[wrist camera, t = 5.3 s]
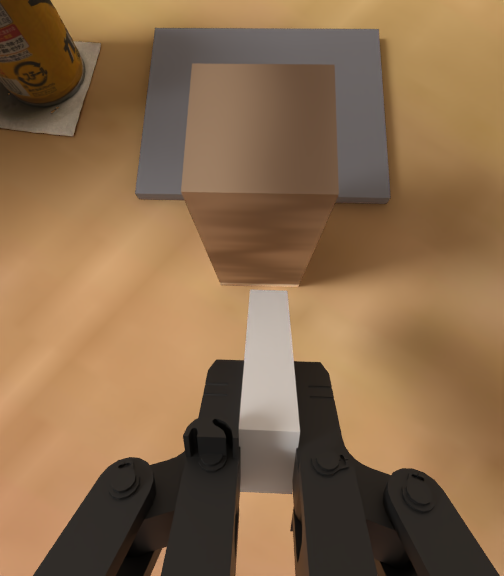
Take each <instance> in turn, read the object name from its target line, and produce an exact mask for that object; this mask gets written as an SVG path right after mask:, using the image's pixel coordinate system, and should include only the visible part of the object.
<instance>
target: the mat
mask: <svg viewBox="0 0 504 576" xmlns="http://www.w3.org/2000/svg"><path fill="white" fill-rule="evenodd" d="M192 64H331V65H335V90H336V121H337V153H338V184H339V195H338V198H337V200H336V202H335V203H380V204H386V203H387V202H388V201H389V199H390V198H391V197H390V183H389V168H388V154H387V140H386V126H385V112H384V98H383V83H382V69H381V55H380V41H379V29H246V28H155V33H154V42H153V50H152V58H151V67H150V75H149V83H148V91H147V100H146V108H145V116H144V125H143V133H142V141H141V149H140V158H139V166H138V174H137V183H136V191H135V194H136V195H137V197H138V198H139V199H157V200H184V198H183V195H182V193H181V186H182V174H183V163H184V151H185V140H186V128H187V116H188V105H189V93H190V82H191V70H192Z"/></svg>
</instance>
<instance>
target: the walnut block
mask: <svg viewBox="0 0 504 576" xmlns="http://www.w3.org/2000/svg"><path fill="white" fill-rule="evenodd" d="M181 193H182V195H183V198H184V200H185V202H186V205H187V207H188V209H189V212H190V214H191V216H192V219H193V221H194V223H195V226H196V228H197V230H198V233H199V235H200V237H201V240H202V242H203V244H204V247H205V249H206V251H207V254H208V256H209V258H210V261H211V263H212V265H213V268H214V270H215V272H216V275H217V277H218V279H219V282H220V284H221V285H237V286H279V287H298V286H299V284H300V282H301V279H302V277H303V275H304V272H305V270H306V268H307V266H308V263H309V261H310V259H311V257H312V254H313V252H314V250H315V248H316V245H317V243H318V241H319V238H320V236H321V234H322V232H323V229H324V227H325V225H326V223H327V220H328V218H329V216H330V213H331V211H332V209H333V207H334V204H335V202H336V200H337V198H338V195H339V184H338V153H337V121H336V90H335V65H331V64H192V70H191V82H190V93H189V105H188V116H187V128H186V140H185V151H184V163H183V174H182V186H181Z"/></svg>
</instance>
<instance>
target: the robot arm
mask: <svg viewBox="0 0 504 576" xmlns="http://www.w3.org/2000/svg"><path fill="white" fill-rule="evenodd" d="M331 387H332V386H331V381H330V377H329V373H328V372H327V370H326V369H325V368H324V366H323V365H322V364H321V362H297V361H294V359H293V348H292V337H291V326H290V315H289V304H288V293H287V291H278V290H250V297H249V309H248V322H247V334H246V346H245V358H244V360H216V361H215V362H214V363H213V365H212V366H211V367H210V368H209V370H208V373H207V378H206V385H205V388H204V394H203V398H202V403H201V408H200V413H199V418H198V419H196V420H194V421H193V422H192V423H191V424H190V425H189V426H188V427H187V429H186V431H185V433H184V435H183V439H184V446H185V451H184V452H183V453H182V454H180V455H179V456H177V457H175V458H172V459H170V460H167V461H163V462H160V463H156V464H152V465H149V464H148V462H146V461H144V460H142V459H140V458H132V457H129V458H125V459H121V460H118V461H117V462H115V463H113V464H112V465H110V466H109V467H108V468H107V469H106V470H105V471H104V472H103V473H102V474H101V475H100V477H99V478H98V480H97V481H96V483H95V484H94V486H93V487H92V489H91V490H90V492H89V493H88V495H87V496H86V498H85V499H84V501H83V502H82V504H81V505H80V507H79V508H78V510H77V511H76V512H75V514H74V515H73V517H72V518H71V520H70V521H69V523H68V524H67V526H66V527H65V529H64V530H63V532H62V533H61V535H60V536H59V538H58V539H57V541H56V542H55V544H54V545H53V547H52V548H51V550H50V551H49V553H48V554H47V556H46V557H45V559H44V560H43V562H42V563H41V565H40V566H39V567H38V569H37V570H36V572H35V573H34V575H33V576H150V575H151V573H152V570H153V568H154V566H155V564H156V561H157V559H158V557H159V554H160V552H161V550H162V548H164V547H167V549H166V554H165V559H164V563H163V568H162V573H161V576H235V572H236V556H237V540H238V524H239V497H240V492H259V493H281V494H292V491H293V500H294V509H293V516H292V523H291V531H293V537H294V556H295V575H296V576H500V575H499V574H498V572H497V571H496V569H495V568H494V566H493V565H492V563H491V562H490V560H489V559H488V557H487V556H486V554H485V553H484V551H483V550H482V548H481V547H480V545H479V544H478V542H477V541H476V539H475V538H474V536H473V535H472V533H471V532H470V530H469V529H468V527H467V525H466V524H465V522H464V521H463V519H462V518H461V516H460V515H459V513H458V512H457V510H456V509H455V507H454V506H453V504H452V503H451V501H450V500H449V498H448V497H447V495H446V494H445V492H444V491H443V489H442V488H441V487H440V486H439V485H438V484H437V482H436V481H435V480H434V479H432V478H431V477H429V476H428V475H426V474H425V473H423V472H421V471H418V470H415V469H406V468H402V469H399V470H397V471H395V472H393V474H392V475H389V474H386V473H383V472H380V471H377V470H375V469H372V468H369V467H367V466H365V465H363V464H361V463H360V462H358V461H357V460H356V459H354V458H353V456H352V455H351V454H350V453H349V452H348V450H347V449H346V447H345V445H344V442H343V439H342V435H341V430H340V425H339V420H338V415H337V411H336V406H335V401H334V396H333V391H332V388H331Z"/></svg>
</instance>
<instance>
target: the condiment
mask: <svg viewBox="0 0 504 576" xmlns="http://www.w3.org/2000/svg"><path fill="white" fill-rule="evenodd" d="M100 47H101V43H92V42H76V41H73V40H72V38H71V36H70V35H69V33H68V30H67V29H66V27H65V25H64V24H63V22H62V20H61V18H60V16H59V15H58V12H57V11H56V9H55V7H54V6H53V4H52V3H51V1H50V0H0V128H6V129H11V130H19V131H28V132H33V133H48V134H53V135H66V136H73V135H74V132H75V127H76V124H77V122H78V119H79V113H80V111H81V108H82V105H83V101H84V99H85V95H86V93H87V90H88V87H89V85H90V82H91V78H92V74H93V72H94V68H95V65H96V62H97V58H98V55H99V51H100ZM8 93H10V95H8ZM56 107H59V108H58V109H56ZM52 110H55V111H54V112H53V113H51V111H52Z"/></svg>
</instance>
